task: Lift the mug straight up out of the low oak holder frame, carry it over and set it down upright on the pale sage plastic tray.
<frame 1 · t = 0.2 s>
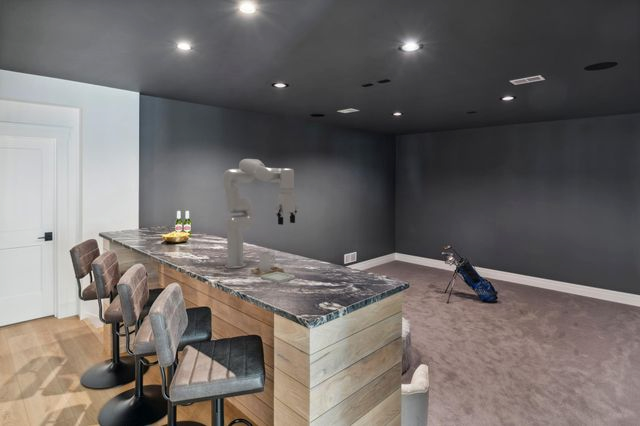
hand: (286, 223, 200), 31 cm above the countertop, fingers open, 9 cm apart
holder frame: (267, 272, 217), on the countertop
tray: (278, 278, 204), on the countertop
mug: (267, 272, 217), resting in holder frame
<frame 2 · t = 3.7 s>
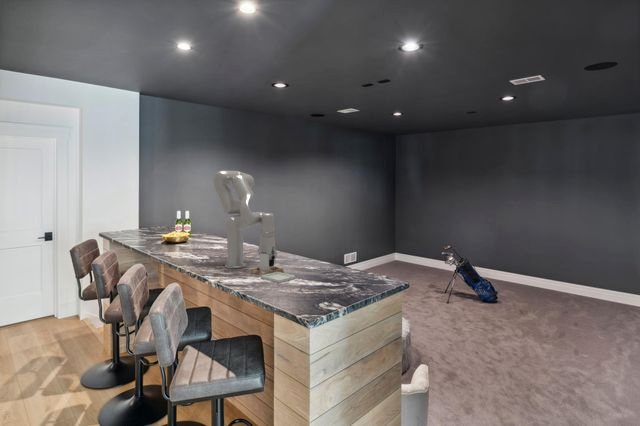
hand: (267, 264, 216), 5 cm above the countertop, fingers closed on mug, 6 cm apart
mug: (267, 272, 217), resting in holder frame, touching gripper
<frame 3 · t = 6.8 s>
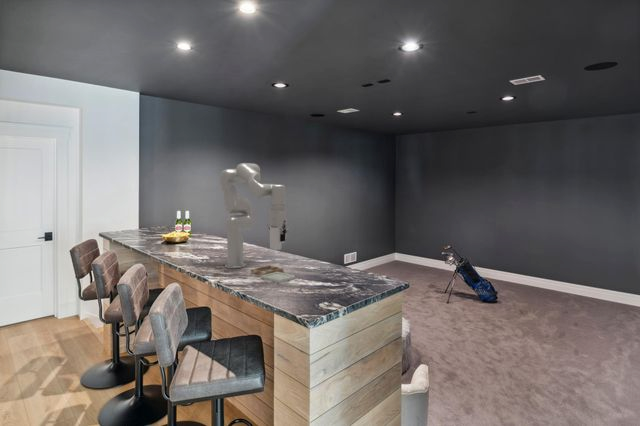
hand: (278, 240, 202), 21 cm above the countertop, fingers closed on mug, 6 cm apart
mug: (278, 248, 202), point 17 cm above the countertop, touching gripper
when the fingers open (7 cm above the countertop, at t = 10.4 s): mug drops 1 cm, resting on tray.
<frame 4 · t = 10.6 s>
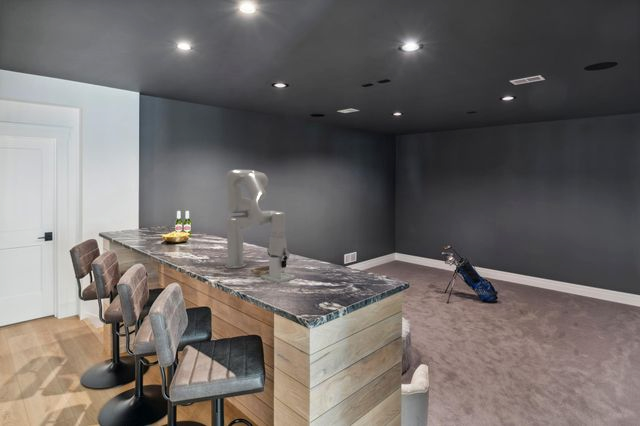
hand: (278, 266, 203), 7 cm above the countertop, fingers open, 8 cm apart
mug: (277, 277, 204), resting on tray
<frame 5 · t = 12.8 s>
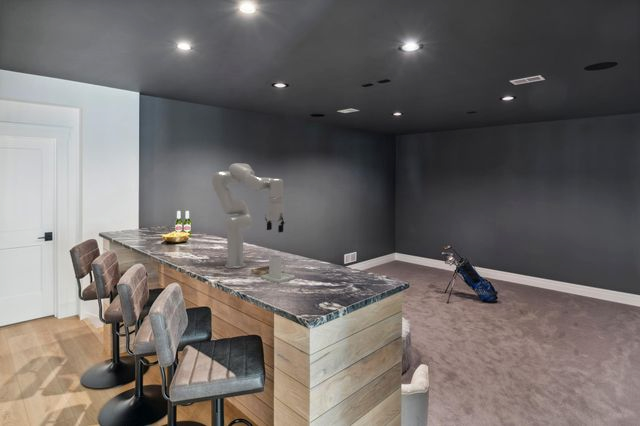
hand: (274, 231, 210), 25 cm above the countertop, fingers open, 9 cm apart
nothing on the countertop moved.
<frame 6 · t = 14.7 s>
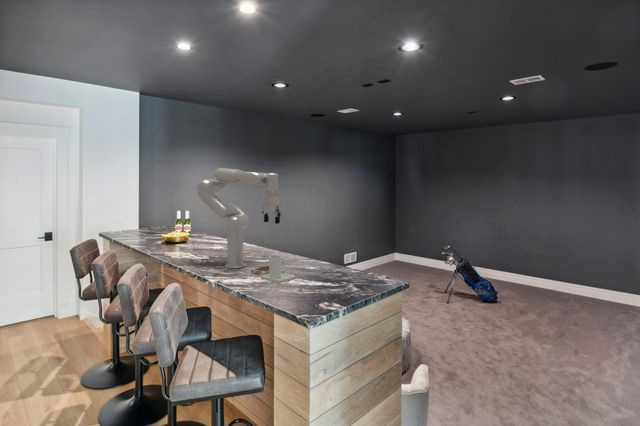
hand: (271, 222, 222), 28 cm above the countertop, fingers open, 9 cm apart
nothing on the countertop moved.
at the end: mug inside the target area on the tray (0.1 cm from its centre), point 0.4 cm above the tray's base; mug tilted 0°; the gripper is holding nothing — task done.
